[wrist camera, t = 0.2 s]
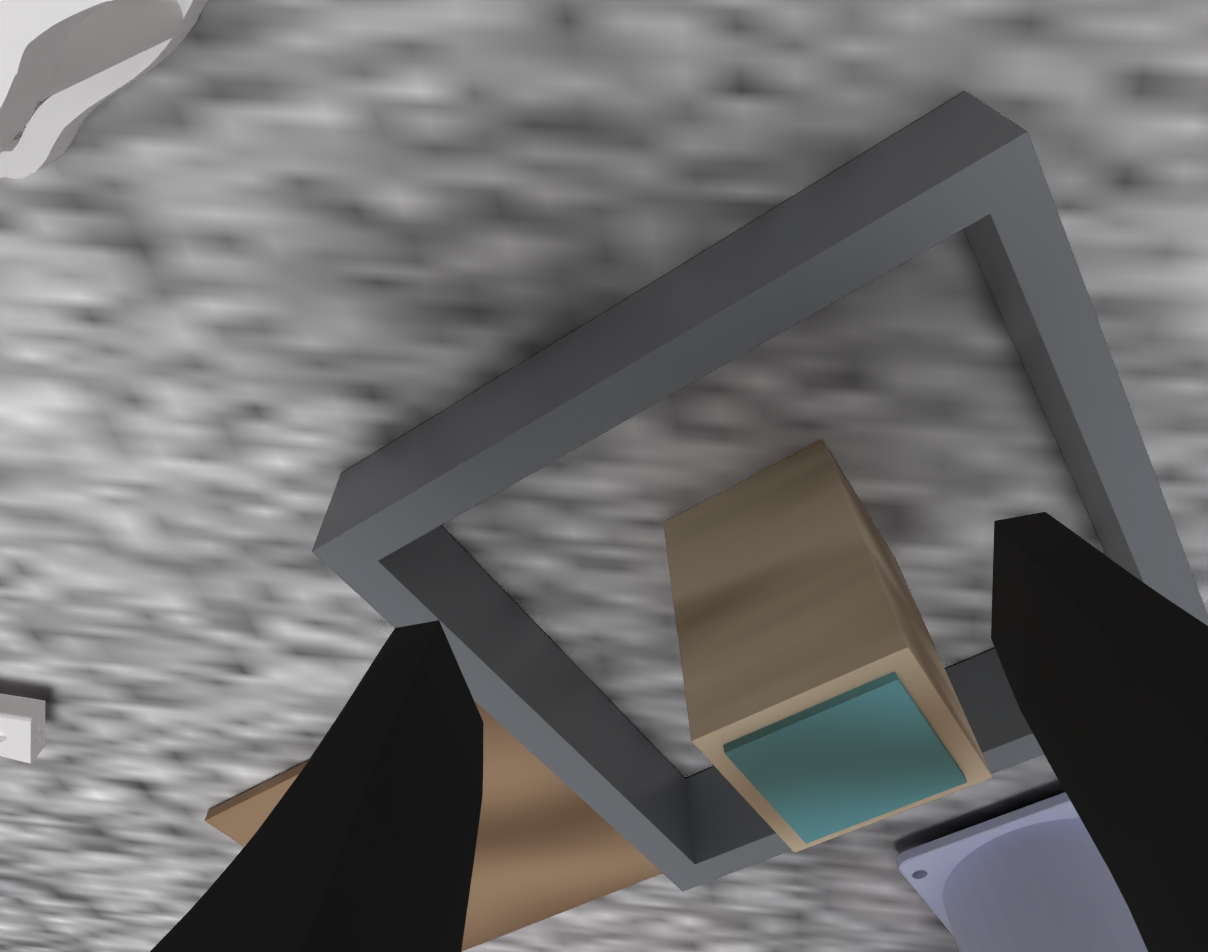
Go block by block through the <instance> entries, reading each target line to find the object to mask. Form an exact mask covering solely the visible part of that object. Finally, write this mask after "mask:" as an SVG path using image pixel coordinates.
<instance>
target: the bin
mask: <svg viewBox="0 0 1208 952" xmlns="http://www.w3.org/2000/svg"><path fill="white" fill-rule="evenodd" d="M962 229H964V231H965V233H966V235H967V238H968V240H969V242H970V245H971V247H972V249H973V251H974V254H975V256H976V258H977V261H978V263H979V265H980V267H981V270H982V272H983V274H984V277H985V279H986V281H987V283H988V286H989V288H990V290H991V293H992V295H993V297H994V299H995V302H996V304H997V306H998V309H999V311H1000V313H1001V315H1002V318H1003V320H1004V322H1005V325H1006V327H1007V329H1008V331H1009V334H1010V336H1011V338H1012V341H1013V343H1014V345H1015V347H1016V350H1017V352H1018V354H1019V357H1020V359H1021V361H1022V363H1023V366H1024V368H1025V370H1026V373H1027V375H1028V377H1029V379H1030V382H1031V384H1032V386H1033V389H1034V391H1035V393H1036V395H1037V398H1038V400H1039V402H1040V405H1041V407H1042V409H1043V411H1044V414H1045V416H1046V418H1047V421H1048V423H1049V425H1050V427H1051V430H1052V432H1053V434H1054V437H1055V439H1056V441H1057V443H1058V446H1059V448H1060V450H1061V453H1062V455H1063V457H1064V459H1065V462H1066V464H1067V466H1068V469H1069V471H1070V473H1071V475H1072V478H1073V480H1074V482H1075V485H1076V487H1077V489H1078V491H1079V494H1080V496H1081V498H1082V501H1083V503H1084V505H1085V507H1086V510H1087V512H1088V514H1089V517H1090V519H1091V521H1092V523H1093V526H1094V528H1095V530H1096V533H1097V535H1098V537H1099V539H1100V542H1101V544H1102V546H1103V549H1104V551H1105V553H1106V555H1107V557H1108V558H1110V559H1111V560H1113V561H1114V562H1115V563H1117V564H1118V565H1120V566H1121V567H1122V568H1124V569H1125V570H1127V571H1128V572H1129V573H1131V574H1132V575H1134V576H1135V577H1136V578H1138V579H1139V580H1141V581H1142V582H1144V583H1145V584H1146V585H1148V586H1149V587H1151V588H1152V589H1154V590H1155V591H1157V592H1158V593H1159V594H1161V595H1162V596H1164V597H1165V598H1167V599H1168V600H1170V601H1171V602H1173V603H1174V604H1176V605H1177V606H1179V607H1180V608H1182V609H1183V610H1185V611H1186V612H1188V613H1189V614H1191V615H1192V616H1194V617H1195V618H1197V619H1198V620H1200V621H1201V622H1203V623H1204V624H1206V625H1207V626H1208V615H1207V612H1206V610H1205V607H1204V604H1203V602H1202V599H1201V596H1200V594H1199V591H1198V588H1197V585H1196V583H1195V580H1194V577H1193V575H1192V572H1191V569H1190V567H1189V564H1188V561H1187V559H1186V556H1185V553H1184V551H1183V548H1182V545H1181V542H1180V540H1179V537H1178V534H1177V532H1176V529H1175V526H1174V524H1173V521H1172V518H1171V516H1170V513H1169V510H1168V508H1167V505H1166V502H1165V500H1164V497H1163V494H1162V491H1161V489H1160V486H1159V483H1158V481H1157V478H1156V475H1155V473H1154V470H1153V467H1152V465H1151V462H1150V459H1149V457H1148V454H1147V451H1146V448H1145V446H1144V443H1143V440H1142V438H1141V435H1140V432H1139V430H1138V427H1137V424H1136V422H1135V419H1134V416H1133V414H1132V411H1131V408H1130V406H1129V403H1128V400H1127V397H1126V395H1125V392H1124V389H1123V387H1122V384H1121V381H1120V379H1119V376H1118V373H1117V371H1116V368H1115V365H1114V363H1113V360H1112V357H1111V354H1110V352H1109V349H1108V346H1107V344H1106V341H1105V338H1104V336H1103V333H1102V330H1101V328H1100V325H1099V322H1098V320H1097V317H1096V314H1095V312H1094V309H1093V306H1092V303H1091V301H1090V298H1089V295H1088V293H1087V290H1086V287H1085V285H1084V282H1083V279H1082V277H1081V274H1080V271H1079V269H1078V266H1077V263H1076V260H1075V258H1074V255H1073V252H1072V250H1071V247H1070V244H1069V242H1068V239H1067V236H1066V234H1065V231H1064V228H1063V226H1062V223H1061V220H1060V217H1059V215H1058V212H1057V209H1056V207H1055V204H1054V201H1053V199H1052V196H1051V193H1050V191H1049V188H1048V185H1047V183H1046V180H1045V177H1044V175H1043V172H1042V169H1041V166H1040V164H1039V161H1038V158H1037V156H1036V153H1035V150H1034V148H1033V145H1032V142H1031V140H1030V137H1029V134H1028V132H1027V131H1026V130H1024V129H1023V128H1021V127H1020V126H1018V125H1017V124H1015V123H1013V122H1012V121H1010V120H1009V119H1007V118H1006V117H1004V116H1003V115H1001V114H1000V113H998V112H996V111H995V110H993V109H992V108H990V107H989V106H987V105H986V104H984V103H982V102H981V101H979V100H978V99H976V98H975V97H973V96H972V95H970V94H969V93H967V92H965V91H964V92H963V93H961V94H960V95H958V96H956V97H955V98H953V99H951V100H950V101H948V102H946V103H945V104H943V105H942V106H940V107H938V108H937V109H935V110H933V111H932V112H930V113H928V114H927V115H925V116H924V117H922V118H920V119H919V120H917V121H915V122H914V123H912V124H911V125H909V126H907V127H906V128H904V129H902V130H901V131H899V132H897V133H896V134H894V135H893V136H891V137H889V138H888V139H886V140H884V141H883V142H881V143H880V144H878V145H876V146H875V147H873V148H871V149H870V150H868V151H866V152H865V153H863V154H862V155H860V156H858V157H857V158H855V159H853V160H852V161H850V162H849V163H847V164H845V165H844V166H842V167H840V168H839V169H837V170H835V171H834V172H832V173H831V174H829V175H827V176H826V177H824V178H822V179H821V180H819V181H818V182H816V183H814V184H813V185H811V186H809V187H808V188H806V189H804V190H803V191H801V192H800V193H798V194H796V195H795V196H793V197H791V198H790V199H788V200H787V201H785V202H783V203H782V204H780V205H778V206H777V207H775V208H773V209H772V210H770V211H769V212H767V213H765V214H764V215H762V216H760V217H759V218H757V219H756V220H754V221H752V222H751V223H749V224H747V225H746V226H744V227H742V228H741V229H739V230H738V231H736V232H734V233H733V234H731V235H729V236H728V237H726V238H724V239H723V240H721V241H720V242H718V243H716V244H715V245H713V246H711V247H710V248H708V249H707V250H705V251H703V252H702V253H700V254H698V255H697V256H695V257H693V258H692V259H690V260H689V261H687V262H685V263H684V264H682V265H680V266H679V267H677V268H676V269H674V270H672V271H671V272H669V273H667V274H666V275H664V276H662V277H661V278H659V279H658V280H656V281H654V282H653V283H651V284H649V285H648V286H646V287H645V288H643V289H641V290H640V291H638V292H636V293H635V294H633V295H631V296H630V297H628V298H627V299H625V300H623V301H622V302H620V303H618V304H617V305H615V306H614V307H612V308H610V309H609V310H607V311H605V312H604V313H602V314H600V315H599V316H597V317H596V318H594V319H592V320H591V321H589V322H587V323H586V324H584V325H583V326H581V327H579V328H578V329H576V330H574V331H573V332H571V333H569V334H568V335H566V336H565V337H563V338H561V339H560V340H558V341H556V342H555V343H553V344H551V345H550V346H548V347H547V348H545V349H543V350H542V351H540V352H538V353H537V354H535V355H534V356H532V357H530V358H529V359H527V360H525V361H524V362H522V363H520V364H519V365H517V366H516V367H514V368H512V369H511V370H509V371H507V372H506V373H504V374H503V375H501V376H499V377H498V378H496V379H494V380H493V381H491V382H489V383H488V384H486V385H485V386H483V387H481V388H480V389H478V390H476V391H475V392H473V393H472V394H470V395H468V396H467V397H465V398H463V399H462V400H460V401H458V402H457V403H455V404H454V405H452V406H450V407H449V408H447V409H445V410H444V411H442V412H441V413H439V414H437V415H436V416H434V417H432V418H431V419H429V420H427V421H426V422H424V423H423V424H421V425H419V426H418V427H416V428H414V429H413V430H411V431H410V432H408V433H406V434H405V435H403V436H401V437H400V438H398V439H396V440H395V441H393V442H392V443H390V444H388V445H387V446H385V447H383V448H382V449H380V450H378V451H377V452H375V453H374V454H372V455H370V456H369V457H367V458H365V459H364V460H362V461H361V462H359V463H357V464H356V465H354V466H352V467H351V468H349V469H347V470H346V471H344V472H343V473H341V475H340V477H339V480H338V483H337V485H336V488H335V491H334V493H333V496H332V499H331V502H330V504H329V507H328V510H327V512H326V515H325V518H324V520H323V523H322V526H321V528H320V531H319V534H318V536H317V539H316V542H315V544H314V547H313V550H312V552H313V553H314V554H315V555H316V556H317V557H318V558H319V559H321V560H322V561H323V562H324V563H325V564H326V565H327V566H328V567H329V568H330V569H331V570H333V571H334V572H335V573H336V574H337V575H338V576H339V577H340V578H341V579H342V580H343V581H345V582H346V583H347V584H348V585H349V586H350V587H351V588H352V589H353V590H354V591H355V592H357V593H358V594H359V595H360V596H361V597H362V598H363V599H364V600H365V601H366V602H367V603H369V604H370V605H371V606H372V607H373V608H374V609H375V610H376V611H377V612H378V613H379V614H381V615H382V616H383V617H384V618H385V619H386V620H387V621H388V622H389V623H390V624H391V625H393V626H394V627H395V628H398V627H403V626H409V625H415V624H420V623H426V622H431V621H437V620H439V621H440V624H441V626H442V628H443V630H444V633H445V635H446V637H447V640H448V642H449V644H450V647H451V649H452V651H453V653H454V656H455V658H456V660H457V663H458V665H459V667H460V670H461V672H462V674H463V676H464V679H465V681H466V683H467V686H468V688H469V690H470V693H471V695H472V697H473V699H474V701H475V702H477V703H478V704H479V705H480V706H481V707H482V708H483V709H484V710H485V711H486V712H488V713H489V714H490V715H491V716H492V717H493V718H494V719H495V720H496V721H497V722H498V723H500V724H501V725H502V726H503V727H504V728H505V729H506V730H507V731H508V732H509V733H510V734H512V735H513V736H514V737H515V738H516V739H517V740H518V741H519V742H520V743H521V744H522V745H524V746H525V747H526V748H527V749H528V750H529V751H530V752H531V753H532V754H533V755H534V756H536V757H537V758H538V759H539V760H540V761H541V762H542V763H543V764H544V765H545V766H546V767H548V768H549V769H550V770H551V771H552V772H553V773H554V774H555V775H556V776H557V777H558V778H560V779H561V780H562V781H563V782H564V783H565V784H566V785H567V786H568V787H569V788H570V789H572V790H573V791H574V792H575V793H576V794H577V795H578V796H579V797H580V798H581V799H582V800H584V801H585V802H586V803H587V804H588V805H589V806H590V807H591V808H592V809H593V810H594V811H596V812H597V813H598V814H599V815H600V816H601V817H602V818H603V819H604V820H605V821H606V822H608V823H609V824H610V825H611V826H612V827H613V828H614V829H615V830H616V831H617V832H618V833H620V834H621V835H622V836H623V837H624V838H625V839H626V840H627V841H628V842H629V843H630V844H632V845H633V846H634V847H635V848H636V849H637V850H638V851H639V852H640V853H641V854H642V855H644V856H645V857H646V858H647V859H648V860H649V861H650V862H651V863H652V864H653V865H654V866H656V867H657V868H658V869H659V870H660V871H661V872H662V873H663V874H664V875H665V876H666V877H668V878H669V879H670V880H671V881H672V882H673V883H674V884H675V885H676V886H677V887H678V888H680V889H681V890H682V891H685V890H688V889H691V888H693V887H696V886H699V885H701V884H704V883H706V882H709V881H712V880H714V879H717V878H720V877H722V876H725V875H727V874H730V873H733V872H735V871H738V870H741V869H743V868H746V867H748V866H751V865H754V864H756V863H759V862H762V861H764V860H767V859H769V858H772V857H775V856H777V855H780V854H783V853H785V852H788V851H790V850H792V849H791V848H790V847H789V846H788V845H787V844H786V843H785V842H784V841H783V840H782V839H781V838H780V836H779V835H778V834H777V833H776V832H775V831H774V830H773V829H772V828H771V827H770V826H769V825H768V823H767V822H766V821H765V820H764V819H763V818H762V817H761V816H760V815H759V814H758V813H757V812H756V810H755V809H754V808H753V807H752V806H751V805H750V804H749V803H748V802H747V801H746V800H745V799H744V797H743V796H742V795H741V794H740V793H739V792H738V791H737V790H736V789H735V788H734V787H733V786H732V784H731V783H730V782H729V781H728V780H727V779H726V778H725V777H724V776H723V775H722V774H721V773H720V771H719V770H718V769H717V768H716V767H715V766H714V767H712V768H710V769H707V770H705V771H703V772H700V773H698V774H695V775H693V776H691V777H688V778H686V779H685V778H684V777H683V776H682V775H681V774H680V773H679V772H678V771H677V770H676V769H675V768H674V767H673V766H672V765H671V764H670V763H669V762H668V761H667V760H666V758H665V757H664V756H663V755H662V754H661V753H660V752H659V751H658V750H657V749H656V748H655V747H654V746H653V745H652V744H651V743H650V742H649V741H648V740H647V739H646V738H645V737H644V736H643V735H642V734H641V733H640V732H639V730H638V729H637V728H636V727H635V726H634V725H633V724H632V723H631V722H630V721H629V720H628V719H627V718H626V717H625V716H624V715H623V714H622V713H621V712H620V711H619V710H618V709H617V708H616V707H615V706H614V705H613V704H612V702H611V701H610V700H609V699H608V698H607V697H606V696H605V695H604V694H603V693H602V692H601V691H600V690H599V689H598V688H597V687H596V686H595V685H594V684H593V683H592V682H591V681H590V680H589V679H588V678H587V677H586V676H585V674H584V673H583V672H582V671H581V670H580V669H579V668H578V667H577V666H576V665H575V664H574V663H573V662H572V661H571V660H570V659H569V658H568V657H567V656H566V655H565V654H564V653H563V652H562V651H561V650H560V649H559V648H558V646H557V645H556V644H555V643H554V642H553V641H552V640H551V639H550V638H549V637H548V636H547V635H546V634H545V633H544V632H543V631H542V630H541V629H540V628H539V627H538V626H537V625H536V624H535V623H534V622H533V621H532V620H531V618H530V617H529V616H528V615H527V614H526V613H525V612H524V611H523V610H522V609H521V608H520V607H519V606H518V605H517V604H516V603H515V602H514V601H513V600H512V599H511V598H510V597H509V596H508V595H507V594H506V593H505V592H504V590H503V589H502V588H501V587H500V586H499V585H498V584H497V583H496V582H495V581H494V580H493V579H492V578H491V577H490V576H489V575H488V574H487V573H486V572H485V571H484V570H483V569H482V568H481V567H480V566H479V565H478V564H477V562H476V561H475V560H474V559H473V558H472V557H471V556H470V555H469V554H468V553H467V552H466V551H465V550H464V549H463V548H462V547H461V546H460V545H459V544H458V543H457V542H456V541H455V540H454V539H453V538H452V537H451V536H450V534H449V533H448V532H447V531H446V530H445V529H444V528H443V527H442V526H441V525H442V524H444V523H445V522H447V521H449V520H451V519H452V518H454V517H456V516H458V515H459V514H461V513H463V512H465V511H467V510H468V509H470V508H472V507H474V506H475V505H477V504H479V503H481V502H482V501H484V500H486V499H488V498H489V497H491V496H493V495H495V494H497V493H498V492H500V491H502V490H504V489H505V488H507V487H509V486H511V485H512V484H514V483H516V482H518V481H519V480H521V479H523V478H525V477H527V476H528V475H530V474H532V473H534V472H535V471H537V470H539V469H541V468H542V467H544V466H546V465H548V464H549V463H551V462H553V461H555V460H556V459H558V458H560V457H562V456H564V455H565V454H567V453H569V452H571V451H572V450H574V449H576V448H578V447H579V446H581V445H583V444H585V443H586V442H588V441H590V440H592V439H594V438H595V437H597V436H599V435H601V434H602V433H604V432H606V431H608V430H609V429H611V428H613V427H615V426H616V425H618V424H620V423H622V422H624V421H625V420H627V419H629V418H631V417H632V416H634V415H636V414H638V413H639V412H641V411H643V410H645V409H646V408H648V407H650V406H652V405H654V404H655V403H657V402H659V401H661V400H662V399H664V398H666V397H668V396H669V395H671V394H673V393H675V392H676V391H678V390H680V389H682V388H684V387H685V386H687V385H689V384H691V383H692V382H694V381H696V380H698V379H699V378H701V377H703V376H705V375H706V374H708V373H710V372H712V371H713V370H715V369H717V368H719V367H721V366H722V365H724V364H726V363H728V362H729V361H731V360H733V359H735V358H736V357H738V356H740V355H742V354H743V353H745V352H747V351H749V350H751V349H752V348H754V347H756V346H758V345H759V344H761V343H763V342H765V341H766V340H768V339H770V338H772V337H773V336H775V335H777V334H779V333H781V332H782V331H784V330H786V329H788V328H789V327H791V326H793V325H795V324H796V323H798V322H800V321H802V320H803V319H805V318H807V317H809V316H811V315H812V314H814V313H816V312H818V311H819V310H821V309H823V308H825V307H826V306H828V305H830V304H832V303H833V302H835V301H837V300H839V299H840V298H842V297H844V296H846V295H848V294H849V293H851V292H853V291H855V290H856V289H858V288H860V287H862V286H863V285H865V284H867V283H869V282H870V281H872V280H874V279H876V278H878V277H879V276H881V275H883V274H885V273H886V272H888V271H890V270H892V269H893V268H895V267H897V266H899V265H900V264H902V263H904V262H906V261H908V260H909V259H911V258H913V257H915V256H916V255H918V254H920V253H922V252H923V251H925V250H927V249H929V248H930V247H932V246H934V245H936V244H938V243H939V242H941V241H943V240H945V239H946V238H948V237H950V236H952V235H953V234H955V233H957V232H959V231H960V230H962ZM945 671H946V673H947V675H948V678H949V680H950V682H951V684H952V687H953V689H954V691H955V693H956V696H957V698H958V700H959V702H960V705H961V707H962V709H963V711H964V714H965V716H966V718H967V720H968V723H969V725H970V727H971V729H972V732H973V734H974V736H975V738H976V741H977V743H978V745H979V747H980V750H981V752H982V754H983V756H984V759H985V761H986V763H987V765H988V768H989V770H990V772H991V774H993V773H995V772H998V771H1001V770H1003V769H1006V768H1008V767H1011V766H1014V765H1016V764H1019V763H1022V762H1024V761H1027V760H1030V759H1032V758H1035V757H1037V756H1040V755H1043V754H1044V753H1043V751H1042V749H1041V747H1040V745H1039V744H1038V742H1037V740H1036V738H1035V736H1034V734H1033V733H1032V731H1031V729H1030V727H1029V725H1028V724H1027V722H1026V720H1025V718H1024V716H1023V714H1022V712H1021V711H1020V708H1019V706H1018V704H1017V701H1016V699H1015V696H1014V694H1013V692H1012V689H1011V687H1010V684H1009V682H1008V680H1007V677H1006V675H1005V672H1004V670H1003V667H1002V664H1001V662H1000V659H999V657H998V654H997V652H996V649H995V648H994V649H992V650H989V651H987V652H985V653H982V654H980V655H977V656H975V657H973V658H970V659H968V660H966V661H963V662H961V663H959V664H956V665H954V666H951V667H949V668H947V669H945Z"/></svg>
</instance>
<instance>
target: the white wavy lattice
mask: <svg viewBox="0 0 1208 952" xmlns="http://www.w3.org/2000/svg"><path fill="white" fill-rule="evenodd" d="M207 2H208V0H0V178H3V177H8V178H12V179H22V178H24V177H27V176H29V175H30V174H32V173H34V172H35V171H37V170H39V169H40V168H42V167H44V166H45V165H47V164H49V163H50V162H52V161H54V160H55V159H57V158H59V157H60V156H61V155H62V154H63V153H64V152H65V151H66V150H67V149H68V148H69V146H70V145H71V143H72V141H73V139H74V137H75V135H76V133H77V132H78V130H79V128H80V126H81V125H82V123H83V121H84V120H85V119H86V117H87V116H88V114H89V113H90V112H92V111H93V110H94V109H95V108H96V107H97V106H98V105H100V104H101V103H102V102H103V101H105V100H106V99H107V98H109V97H110V96H111V95H113V94H114V93H116V92H117V91H119V90H120V89H122V88H123V87H125V86H127V85H128V84H130V83H131V82H133V81H134V80H136V79H138V78H139V77H141V76H142V75H144V74H146V73H147V72H148V71H150V70H151V69H153V68H154V67H155V66H157V65H158V64H159V63H160V62H162V61H163V60H164V59H165V58H166V57H168V56H169V55H170V54H171V53H172V52H173V51H174V50H175V49H176V48H177V47H178V46H179V44H180V43H181V42H182V41H183V40H184V39H185V37H186V36H187V35H188V33H189V32H190V30H191V29H192V27H194V25H195V24H196V22H197V21H198V18H199V16H200V14H201V12H202V11H203V9H204V7H205V5H206V3H207ZM50 96H51V97H50ZM48 97H50V98H48ZM46 98H48V99H47V100H46V101H45V102H44V103H43V104H42V105H41V106H40V107H39V108H38V109H37V111H36V112H35V114H34V115H33V117H32V118H31V120H30V121H29V123H28V125H27V127H26V128H25V130H24V132H23V134H22V136H21V138H20V139H14V138H15V137H16V136H17V134H18V133H19V132H20V131H21V129H22V128H23V127H24V126H25V124H26V123H27V121H28V119H29V117H30V116H31V114H32V112H33V111H34V109H35V107H36V105H37V103H38V102H40V101H42V100H44V99H46Z"/></svg>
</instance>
